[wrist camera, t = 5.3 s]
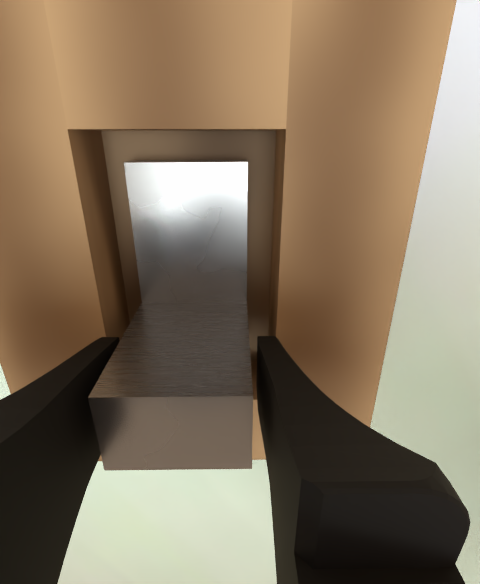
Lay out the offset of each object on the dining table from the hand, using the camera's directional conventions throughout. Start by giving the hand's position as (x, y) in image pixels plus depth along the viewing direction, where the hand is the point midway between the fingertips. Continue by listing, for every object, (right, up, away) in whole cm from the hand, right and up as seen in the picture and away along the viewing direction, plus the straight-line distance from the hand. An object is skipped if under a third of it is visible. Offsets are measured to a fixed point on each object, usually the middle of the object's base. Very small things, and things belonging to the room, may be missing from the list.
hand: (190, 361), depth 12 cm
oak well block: (0, +4, +2) cm, 4 cm away
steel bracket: (0, +4, +2) cm, 4 cm away
